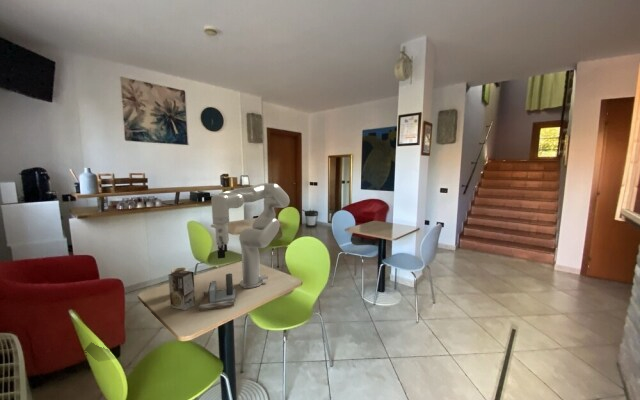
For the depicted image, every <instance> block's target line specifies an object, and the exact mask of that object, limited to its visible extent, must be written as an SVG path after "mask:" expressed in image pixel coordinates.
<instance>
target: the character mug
mask: <svg viewBox="0 0 640 400" xmlns="http://www.w3.org/2000/svg"><path fill="white" fill-rule="evenodd" d="M178 270H183V271H190V270H189V269H187V267H184V266H181V267H180V266H179V267H176V268H173V269H171V270H170V274H172V273H173V272H176V271H178Z"/></svg>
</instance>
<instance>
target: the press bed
mask: <svg viewBox="0 0 640 400" xmlns="http://www.w3.org/2000/svg"><path fill="white" fill-rule="evenodd" d="M233 289H235V287H233ZM224 290H226V288H221V289H217V291H224ZM202 294H203V295H202V298H201V302H200V304H199V305H198V309H199V311H200V312H201V311H206V310H213V309H220V308H228V307H234V306H235V301H234V300H232V301H224V302H217V303H210V301H209V302H208V290H205V291H203V292H202Z"/></svg>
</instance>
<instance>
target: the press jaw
mask: <svg viewBox="0 0 640 400" xmlns="http://www.w3.org/2000/svg"><path fill="white" fill-rule="evenodd" d="M233 285H234V284H233V274H232V273H226V274H225V289H226V290H224V291H217V290H218V289H217V280H212V281H211V282H209V286H208V289H207V291H208V302H209V301H210V303H217V302H224V301H232V300H234V302H235V301H236V289H235V288H234V287H233ZM233 288H234V289H233Z"/></svg>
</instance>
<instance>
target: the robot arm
mask: <svg viewBox="0 0 640 400" xmlns="http://www.w3.org/2000/svg"><path fill="white" fill-rule="evenodd" d="M210 198H211V216H212V225H213V226H215V240H216V241H215V243H216V245H217V259H225V258H226V252H228V244H229V241H230V238H229V237H230V236H229V226H228V225H229V224H230V211H229V210H230V209H239V208H241V207H243V204H246V203H254V202H257V201H259V200H263V210H262V212H261V213H260V215H258V217H256V219H254V221H253V223H252V228H249V227H248V228H244V229H242V230H241V232H240V233H239V236H238V238H239V239H238V240H239V243H240V244H239V245H240V248H241V249H240V250H241V270H242V271H241V274H242V275H241V277H242V280H240V281H239V286H240V287H242V288H245V289H253V288H257V287H259V286H261V285H262V284H264V281H265V280H269V276H268V275H266V274H263V275H262V274H261V270H260V269H261V268H260V266H261V265H260V264H261V263H260V250H259V249H260V248H261V249H264V248H266V247H268V246H269V245H270V244H271V242H272V241H273V239H274V238H275V237H276V236H277V234H278V233H279V230H280V226H281V225H280V221H279V219H277V218H276V216H277V215H276V214H277V213H276V211H275V208H283V209H284V208H287V207H288V206H290V203H291V201H290V197H289V195H288V194H287V192H286V191H285V190H284V189H283V188H282V187H281V185H278V184H277V183H260V184H259V183H258V184H256V185H252V186H247V187H243V188H236V189H230V190H226V191H223V192H220V193H219V194H214V195H211V197H210Z"/></svg>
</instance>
